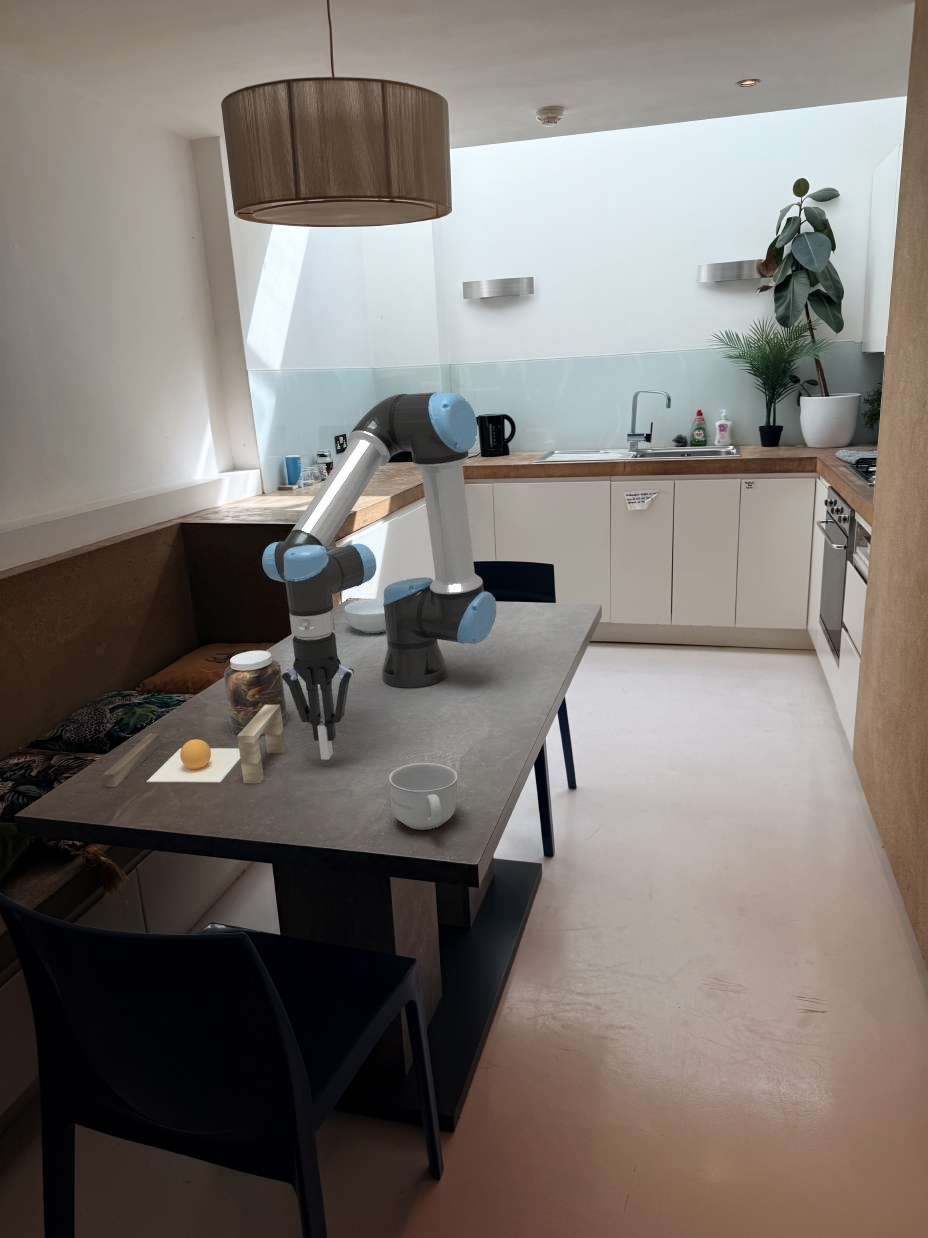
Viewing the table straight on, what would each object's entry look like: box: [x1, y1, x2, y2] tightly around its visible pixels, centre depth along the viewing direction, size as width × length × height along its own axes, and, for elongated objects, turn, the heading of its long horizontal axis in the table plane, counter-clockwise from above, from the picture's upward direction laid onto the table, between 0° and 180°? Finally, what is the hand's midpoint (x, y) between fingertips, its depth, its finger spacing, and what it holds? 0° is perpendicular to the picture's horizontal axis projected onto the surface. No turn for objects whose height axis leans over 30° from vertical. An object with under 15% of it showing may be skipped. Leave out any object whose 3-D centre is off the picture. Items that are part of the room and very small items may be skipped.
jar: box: [223, 650, 288, 736], centre depth 179 cm, size 12×12×15 cm
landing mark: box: [146, 747, 241, 784], centre depth 164 cm, size 14×14×1 cm
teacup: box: [388, 762, 459, 831], centre depth 137 cm, size 14×11×8 cm
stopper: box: [102, 733, 162, 788], centre depth 165 cm, size 2×18×2 cm, turn 173°
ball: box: [180, 738, 211, 769], centre depth 162 cm, size 6×6×6 cm
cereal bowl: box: [344, 598, 386, 634], centre depth 243 cm, size 17×17×7 cm
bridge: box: [236, 705, 286, 784], centre depth 161 cm, size 3×14×9 cm, turn 173°
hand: (326, 756), depth 160 cm, fingers closed
